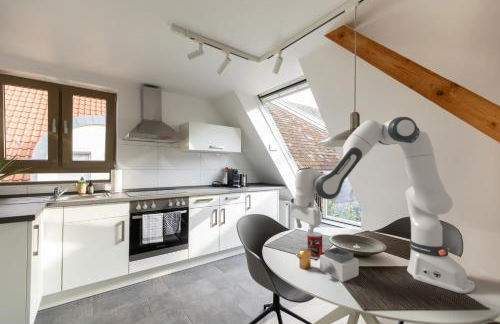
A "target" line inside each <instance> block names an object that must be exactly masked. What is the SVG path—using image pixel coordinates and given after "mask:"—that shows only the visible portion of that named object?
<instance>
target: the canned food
mask: <svg viewBox="0 0 500 324" xmlns="http://www.w3.org/2000/svg"><path fill="white" fill-rule="evenodd" d="M306 239H307V249H309V250H310V251H311V257H316V256H317V257H320V255H323V233H321V232H320V231H313V234H310V233H308V232H307V238H306Z"/></svg>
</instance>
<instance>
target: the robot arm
mask: <svg viewBox="0 0 500 324" xmlns="http://www.w3.org/2000/svg"><path fill="white" fill-rule="evenodd" d="M377 143H379V144H382V145H384V146H391V145H397V144H398V145H399V146H400V147H401V149H402V154H403V161H404V166H405V172H406V176H407V177H408V179H409V181H410V183H411V186H409V187H408V188H407V189H406V190H405V192H404V198H405V200H406V204H407V209H408V214H409V219H410V235H411V236H410V240H409V251H410V255H409V257H410V258H409V262H408V265H407V269H406V271H407V272H408V273H409V274H410V275H411V276H412V278H413V279H414V280H416V281H419V282H423V283H426V284H429V285H433V286H436V287H438V288H442V289H445V290H447V291H452V292H455V293H457V294H467V293H468V294H469V293H471V292H473V291H475V289H476V284H475V282H474V281H472V280H471V279H468V274H467V271H466V268H464V267H463V266H462V265H461V264H460V263H458V262H457V260H455V259H454V258H452V257H451V256H450V255H449V251H450V247H446V246H445V245H444V244H443V225H442V223H441V222H440V219H439V216H438V215H444V214H447V213H448V212H450V211H451V209H452V208H453V205H454V202H453V199H452V196H451V195H450V194H449V193H448V192H447V189H445V186H444V183H443V180H442V179H441V177H440V174H439V171H438V167H437V162H436V156H435V153H434V152H435V151H434V148H433V144H432V141H431V139H430V137H429V135H428V133H427V132H425V131H422V130H420V129H419V127H418V126H417V123H416V122H415V120H413V118H411V117H408V116H398V117H395V118H392V119H390V120H387V121H386V122H384V123H380V122H379V121H376V120H372V119H368V120H367V119H366V120H364V122H362V123H361V124H359V126H358V127H356V129H355V130H353V131H352V133H351V134H349V136H348V138H347V139H346V140H345V142H344V144H343V146H342V152H343V153H342V154H343V155H342V157H341V159H340V160H339V161H338V163H337V164H336V165H335V166H334V168H333V169H332V170H331V171H330V172H329V173H327V174H325V173H323V172H320V171H319V170H318V171H317V170H316V169H314V168H313V167H312V166H309V167H303V168H299V169H298V170H297V171H296V174H295V181H294V182H295V196H294V197H291V198H290V199H289V202H290V216H291V217H292V218H294V219H295V222H296V223H295V224H296V227H297V228H298V229H301V228H302V227H303V225H302V223H301V221H302V222H304V223H307V224H309V225H308V226H309V228H308V229H307V231H308V232H307V234H308V233H310V234H313V232H314V230H315V227H319V226H321V224H322V217H321V211H320V208H319V206H318V205H317V204H315V194H318V196H319V197H321V198H322V199H325V200H331V199H335V198H337V197H338V196H339V194H340V192H341V189H342V186H343V183H344V182H345V180H346V179H347V177H348V176H349V175H350V174H351V172H352V171H353V170H354V169H355V167H356V166H357V165H358V164H359V162H360V161H361V160H363V158H364V157H365V156H367V155H368V154H369V152H370V151H371V150H372V149H373V148H374V146H375V145H376V144H377Z"/></svg>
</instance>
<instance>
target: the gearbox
mask: <svg viewBox="0 0 500 324" xmlns="http://www.w3.org/2000/svg"><path fill="white" fill-rule="evenodd" d="M359 264H360V263H359V258H357V257H354V252H351V251H348V250H345V249H343V248H341V247H339V246H336V247H332V248H329V249H326V250H324V254H323V253H322V255H320V256H319V271H320V272H322V273H323V274H326V275H327V276H329V277H332V278H334V279H335V280H337V281H339V282H341V283H344V282H346V281H348V280H351V279H353V278H355V277H358V276H359V273H360V272H359V270H360V269H359V267H360V266H359Z"/></svg>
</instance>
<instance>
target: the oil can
mask: <svg viewBox="0 0 500 324" xmlns="http://www.w3.org/2000/svg"><path fill="white" fill-rule="evenodd" d="M295 256H296V258H297V259H298V260H299V269H300V270H303V271H308V270H311V268H312V267H311V265H312V263H311V262H312V260H311V258H312V256H311V251H310V250H309V249H308V248H300V249H299V251H298V253H295Z"/></svg>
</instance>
